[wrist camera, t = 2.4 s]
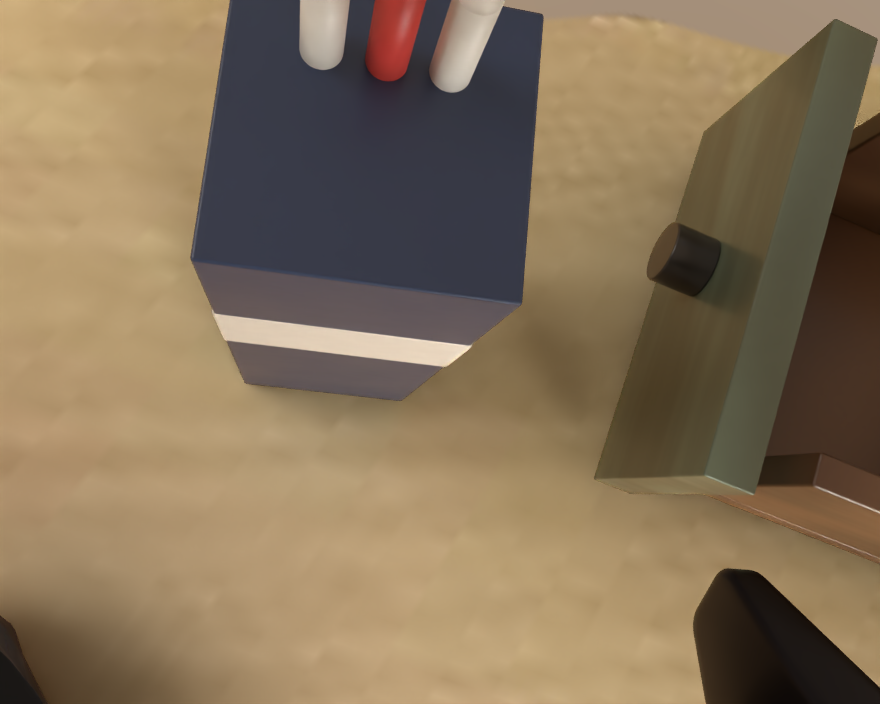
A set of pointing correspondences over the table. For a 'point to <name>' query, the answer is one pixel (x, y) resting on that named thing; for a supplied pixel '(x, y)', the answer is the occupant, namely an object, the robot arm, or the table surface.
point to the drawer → (769, 312)
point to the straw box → (366, 187)
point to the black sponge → (15, 671)
